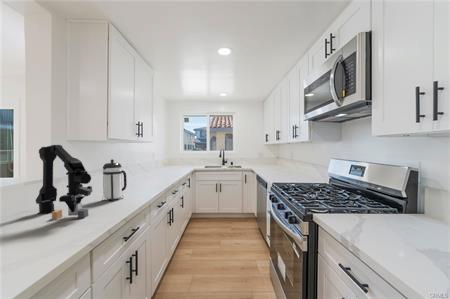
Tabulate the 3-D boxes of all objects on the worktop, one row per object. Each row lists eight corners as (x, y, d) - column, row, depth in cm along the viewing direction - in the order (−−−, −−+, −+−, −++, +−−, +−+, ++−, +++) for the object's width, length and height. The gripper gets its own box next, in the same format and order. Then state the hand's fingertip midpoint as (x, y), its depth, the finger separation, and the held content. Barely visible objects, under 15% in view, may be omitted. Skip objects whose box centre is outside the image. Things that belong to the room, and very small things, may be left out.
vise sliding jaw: (51, 219, 128) (51, 212, 128) (57, 216, 133) (57, 209, 133) (56, 219, 128) (56, 212, 128) (62, 216, 133) (62, 209, 133)
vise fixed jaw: (78, 218, 129) (77, 211, 129) (82, 215, 134) (82, 208, 134) (83, 218, 130) (83, 211, 130) (88, 215, 135) (88, 208, 135)
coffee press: (124, 200, 172) (123, 159, 171) (99, 202, 167) (98, 160, 167) (126, 196, 188) (126, 158, 188) (104, 197, 184) (103, 159, 184)
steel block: (68, 215, 129) (68, 204, 129) (72, 213, 133) (72, 203, 133) (78, 215, 130) (77, 204, 130) (81, 213, 134) (81, 202, 134)
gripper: (80, 185, 123) (81, 215, 123) (97, 180, 141) (97, 206, 142) (58, 185, 122) (59, 216, 122) (77, 180, 140) (78, 206, 141)
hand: (75, 210), depth 132 cm, fingers closed on steel block, 4 cm apart
